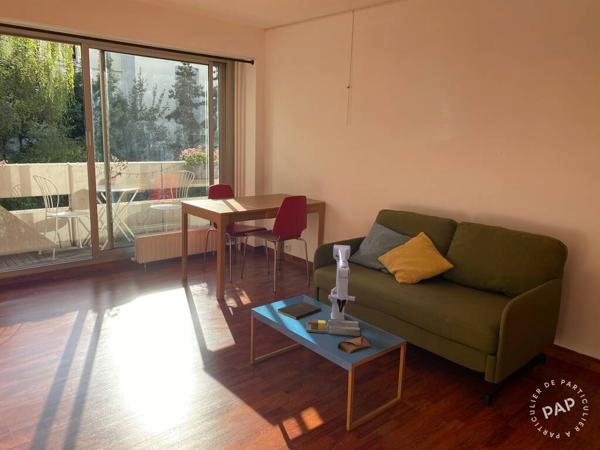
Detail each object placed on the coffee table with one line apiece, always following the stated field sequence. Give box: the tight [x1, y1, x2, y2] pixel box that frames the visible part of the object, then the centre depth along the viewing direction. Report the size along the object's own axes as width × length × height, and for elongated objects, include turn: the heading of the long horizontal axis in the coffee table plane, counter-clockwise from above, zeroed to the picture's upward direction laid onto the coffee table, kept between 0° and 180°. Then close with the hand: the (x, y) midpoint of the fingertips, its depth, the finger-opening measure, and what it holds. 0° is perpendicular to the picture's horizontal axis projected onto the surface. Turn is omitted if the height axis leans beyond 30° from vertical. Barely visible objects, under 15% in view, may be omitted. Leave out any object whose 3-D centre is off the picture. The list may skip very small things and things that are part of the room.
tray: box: [305, 321, 329, 334], centre depth 265 cm, size 11×12×1 cm
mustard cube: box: [317, 319, 326, 330], centre depth 265 cm, size 4×4×4 cm
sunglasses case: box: [337, 335, 373, 355], centre depth 245 cm, size 18×7×7 cm, turn 129°
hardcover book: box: [276, 300, 322, 321], centre depth 290 cm, size 16×23×2 cm
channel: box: [327, 318, 361, 337], centre depth 265 cm, size 12×17×4 cm
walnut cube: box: [310, 319, 319, 329], centre depth 265 cm, size 4×4×4 cm
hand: (340, 311), depth 265 cm, fingers closed
